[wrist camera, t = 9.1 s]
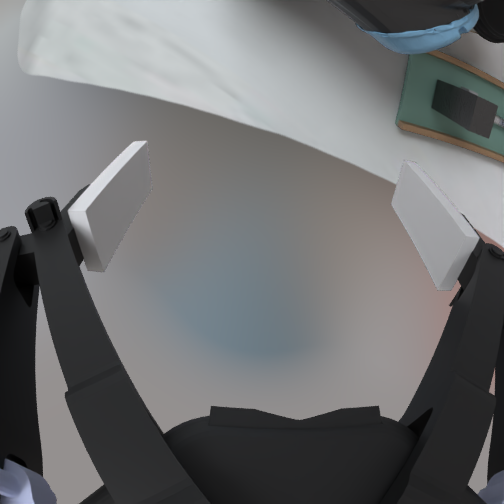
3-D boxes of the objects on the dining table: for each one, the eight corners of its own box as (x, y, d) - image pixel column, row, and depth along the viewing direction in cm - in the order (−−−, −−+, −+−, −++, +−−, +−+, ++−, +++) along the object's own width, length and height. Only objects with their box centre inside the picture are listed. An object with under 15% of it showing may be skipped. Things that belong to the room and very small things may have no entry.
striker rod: (437, 79, 35) (477, 95, 26) (523, 120, 35) (561, 144, 27) (430, 107, 38) (468, 130, 29) (516, 143, 38) (552, 170, 30)
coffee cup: (445, -24, 24) (504, -31, 12) (471, 26, 28) (532, 37, 17) (402, -12, 27) (455, -22, 16) (430, 41, 32) (489, 52, 20)
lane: (411, 42, 33) (421, 43, 30) (527, 99, 33) (538, 105, 31) (395, 123, 42) (403, 130, 39) (508, 161, 42) (518, 169, 40)
